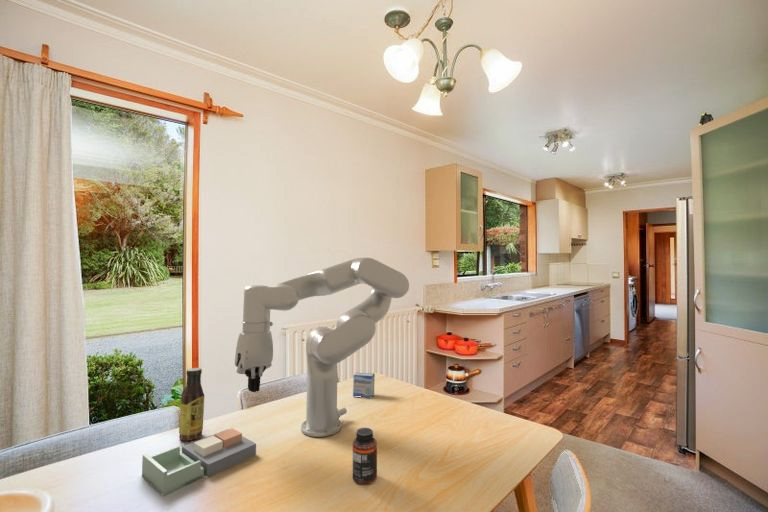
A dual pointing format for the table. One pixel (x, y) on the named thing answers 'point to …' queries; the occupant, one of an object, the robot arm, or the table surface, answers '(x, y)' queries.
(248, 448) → the slate board
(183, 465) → the bin
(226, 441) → the terracotta tile
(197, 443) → the cream tile
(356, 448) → the supplement bottle
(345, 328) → the robot arm
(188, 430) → the sauce bottle
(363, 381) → the medicine box
